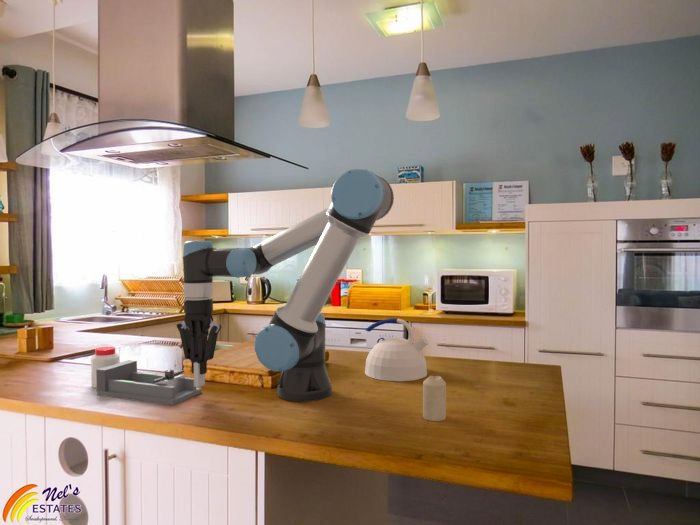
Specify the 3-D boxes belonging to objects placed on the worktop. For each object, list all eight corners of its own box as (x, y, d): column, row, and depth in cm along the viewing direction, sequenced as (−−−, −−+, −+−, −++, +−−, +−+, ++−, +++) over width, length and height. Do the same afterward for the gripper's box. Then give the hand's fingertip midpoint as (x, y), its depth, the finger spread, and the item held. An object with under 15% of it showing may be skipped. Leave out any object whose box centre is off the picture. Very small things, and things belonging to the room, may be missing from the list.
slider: (189, 386, 146) (188, 366, 146) (160, 398, 136) (160, 376, 135) (177, 385, 148) (177, 365, 148) (148, 396, 137) (148, 375, 137)
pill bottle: (108, 389, 149) (108, 351, 149) (85, 387, 151) (84, 350, 150) (125, 382, 157) (125, 346, 156) (103, 380, 158) (102, 345, 158)
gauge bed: (201, 392, 145) (201, 367, 145) (172, 405, 134) (172, 377, 134) (129, 383, 154) (128, 360, 154) (96, 394, 143) (96, 369, 143)
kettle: (421, 384, 154) (422, 324, 153) (356, 378, 160) (356, 321, 160) (433, 368, 173) (433, 315, 172) (374, 364, 180) (374, 313, 179)
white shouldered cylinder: (430, 422, 120) (431, 380, 120) (418, 415, 125) (418, 375, 125) (450, 419, 123) (450, 378, 122) (437, 412, 128) (437, 372, 127)
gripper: (227, 297, 139) (228, 384, 139) (187, 296, 143) (188, 379, 144) (210, 300, 131) (211, 391, 132) (169, 298, 136) (170, 386, 137)
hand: (199, 385), depth 138 cm, fingers closed
